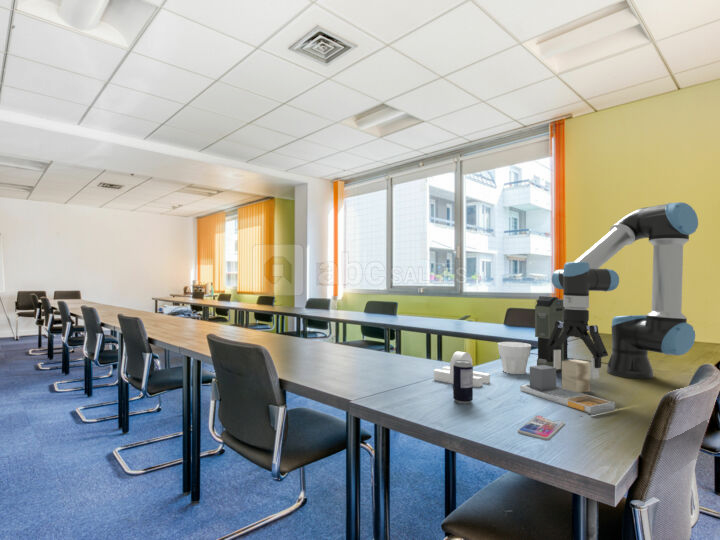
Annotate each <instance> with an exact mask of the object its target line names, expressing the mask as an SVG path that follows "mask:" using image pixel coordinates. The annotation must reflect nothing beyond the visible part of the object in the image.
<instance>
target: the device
mask: <svg viewBox="0 0 720 540" xmlns="http://www.w3.org/2000/svg"><path fill="white" fill-rule="evenodd" d="M534 303H535V305H534V337H535V338H537V359H536V366H539V365H547V366H551V367H554V359H553V358H552V349H551V348H550V347H548V346H547V343H548V341H549V339H550V336H551V334H552V332H553V330H554V328H555V322H556V321H562V322H563V323H564V319H563V310H564V309H565V307H564V306H563V298H559V297H557V296H541V295H539V297H538V299H537V300H536V299H535V302H534ZM564 330H565V329H564V327H563V328H562V331H561V333H560V335H559V337H560V336H561V335H562V332H563V331H564ZM559 337H558V338H559ZM568 346H569V344H568V339H567V340H566V341H565V342H564V343H563V344H562V345H561V347H560V349H558V350H561V369H556V375H557V374H562V361H566V360H570V358H568Z"/></svg>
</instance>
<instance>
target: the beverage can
mask: <svg viewBox="0 0 720 540" xmlns="http://www.w3.org/2000/svg"><path fill="white" fill-rule="evenodd" d="M471 363H472V364H471ZM473 371H474V367H473V361H472V362H471V361H467V360H456V361H455V363H454V365H453V384H452V385H453V387H452V388H453V389H452V390H453V392H452V394H453V395H452V396H453V397H452V398H453V399H454V401H455V402H456V403H458V404H462V403H463V404H462V405H464V404H465V405H467V403H468V404H470V403H471V402H472V401H474V399H473V398H474V389H473V388H474V386H473Z"/></svg>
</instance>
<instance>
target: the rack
mask: <svg viewBox="0 0 720 540" xmlns="http://www.w3.org/2000/svg"><path fill="white" fill-rule="evenodd" d="M519 389H520V392H523V393H526V394H530V395H532V396H536V397H539V398H542V399H544V400H548V401H551V402H554V403H557V404H560V405H564V406H566V407H570V408H571V409H572V408H573V409H574V410H579V411H581V412H585V413H587V416H594V415H595V416H596V415H600V414H605V413H609V412H613V411H616V402H614V401H611V400H607V399H605V398H600V397H597V396H593V395H590V394H587V393H584V392H582V393H580V392H576V391H572V390H569V389H565V388H562V386H557V385H556V389H555V390H548V391H539V390H536V389H532V388H530V383H529V384H521V385H520V386H519Z"/></svg>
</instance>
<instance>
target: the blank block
mask: <svg viewBox="0 0 720 540" xmlns="http://www.w3.org/2000/svg"><path fill="white" fill-rule="evenodd" d="M529 384H530V388H532V389H536V390H539V391H548V390H555V389H556V386H557V374H556V368H555V367H551V366H547V365H539V366H537V365H533V366H529Z"/></svg>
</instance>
